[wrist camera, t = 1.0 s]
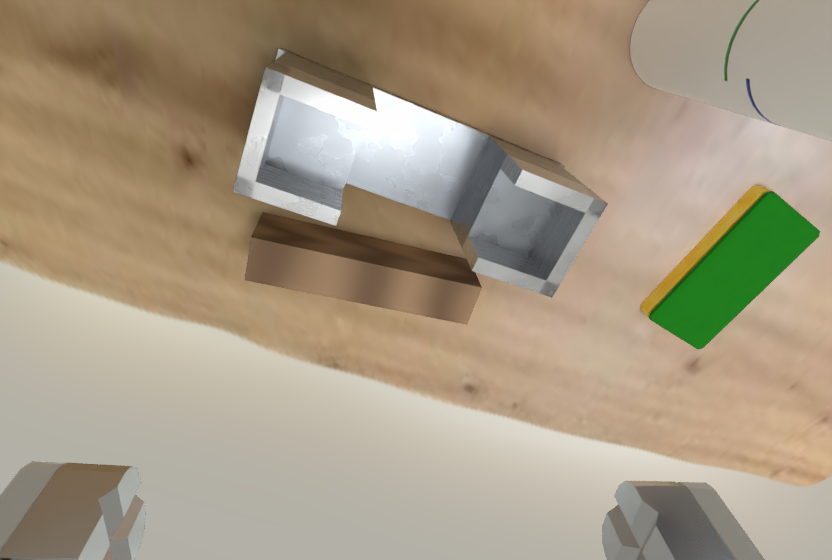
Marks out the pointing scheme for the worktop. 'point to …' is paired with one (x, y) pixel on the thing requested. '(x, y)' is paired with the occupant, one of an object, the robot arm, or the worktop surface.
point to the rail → (361, 269)
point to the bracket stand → (413, 171)
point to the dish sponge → (730, 267)
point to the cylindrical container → (742, 57)
